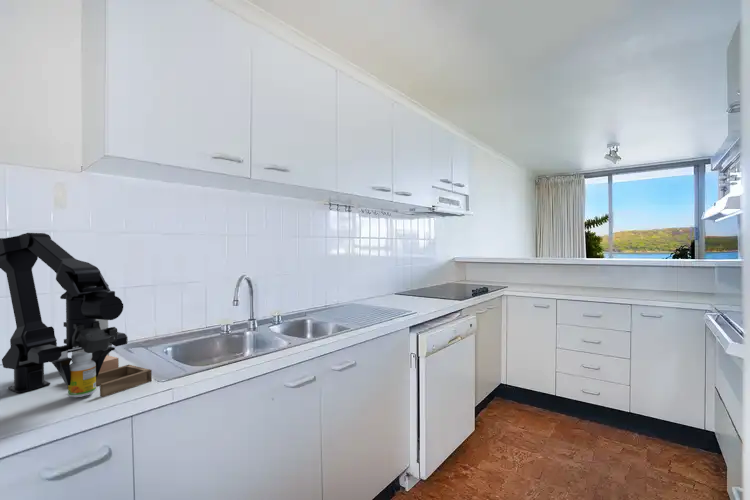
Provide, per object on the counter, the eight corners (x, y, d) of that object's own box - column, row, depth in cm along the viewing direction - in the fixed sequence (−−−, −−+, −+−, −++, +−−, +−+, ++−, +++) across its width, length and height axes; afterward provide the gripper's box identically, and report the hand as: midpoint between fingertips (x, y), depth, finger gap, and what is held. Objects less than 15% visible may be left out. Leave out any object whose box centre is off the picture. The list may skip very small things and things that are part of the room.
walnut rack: (80, 389, 95) (79, 378, 95) (128, 375, 105) (128, 364, 105) (102, 397, 90) (102, 384, 90) (151, 380, 101) (151, 369, 101)
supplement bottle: (62, 395, 89) (62, 355, 89) (87, 387, 94) (86, 349, 94) (77, 399, 87) (76, 358, 87) (101, 390, 92) (100, 352, 92)
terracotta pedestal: (76, 379, 102) (76, 361, 102) (104, 371, 108) (104, 354, 108) (90, 383, 99) (90, 365, 99) (118, 375, 105) (118, 357, 105)
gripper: (51, 328, 78) (52, 401, 79) (140, 313, 95) (140, 374, 95) (26, 323, 83) (26, 392, 84) (114, 310, 100) (115, 367, 100)
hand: (82, 381), depth 91 cm, fingers closed on supplement bottle, 5 cm apart
